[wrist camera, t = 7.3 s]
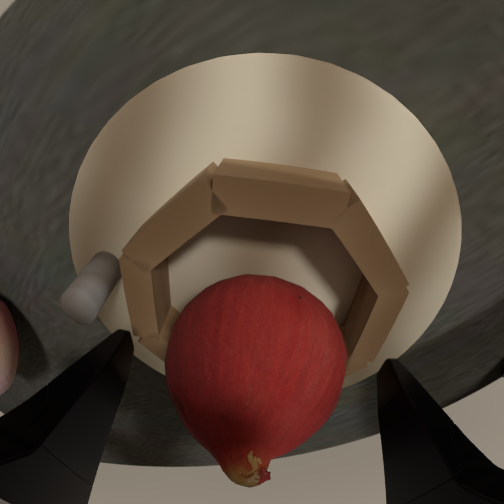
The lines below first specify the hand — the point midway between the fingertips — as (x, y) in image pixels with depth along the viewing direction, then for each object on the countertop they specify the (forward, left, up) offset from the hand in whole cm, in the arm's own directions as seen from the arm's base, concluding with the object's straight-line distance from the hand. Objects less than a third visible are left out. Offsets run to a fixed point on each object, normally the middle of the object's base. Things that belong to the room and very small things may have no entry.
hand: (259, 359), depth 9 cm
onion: (0, 0, -4) cm, 4 cm away
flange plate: (0, 0, -5) cm, 5 cm away
